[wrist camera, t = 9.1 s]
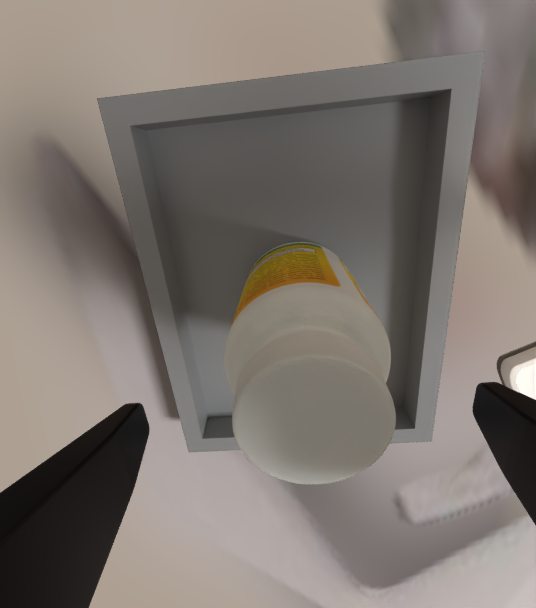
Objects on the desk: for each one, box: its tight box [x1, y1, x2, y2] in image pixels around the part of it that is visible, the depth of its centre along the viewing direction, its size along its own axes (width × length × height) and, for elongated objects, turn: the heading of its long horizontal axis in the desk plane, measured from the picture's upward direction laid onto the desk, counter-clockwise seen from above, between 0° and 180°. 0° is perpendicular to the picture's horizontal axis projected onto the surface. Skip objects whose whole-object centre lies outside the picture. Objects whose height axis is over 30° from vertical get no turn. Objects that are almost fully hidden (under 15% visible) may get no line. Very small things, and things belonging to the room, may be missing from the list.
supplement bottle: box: [224, 242, 396, 484], centre depth 12 cm, size 5×5×10 cm
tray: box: [97, 51, 485, 452], centre depth 16 cm, size 18×14×2 cm
